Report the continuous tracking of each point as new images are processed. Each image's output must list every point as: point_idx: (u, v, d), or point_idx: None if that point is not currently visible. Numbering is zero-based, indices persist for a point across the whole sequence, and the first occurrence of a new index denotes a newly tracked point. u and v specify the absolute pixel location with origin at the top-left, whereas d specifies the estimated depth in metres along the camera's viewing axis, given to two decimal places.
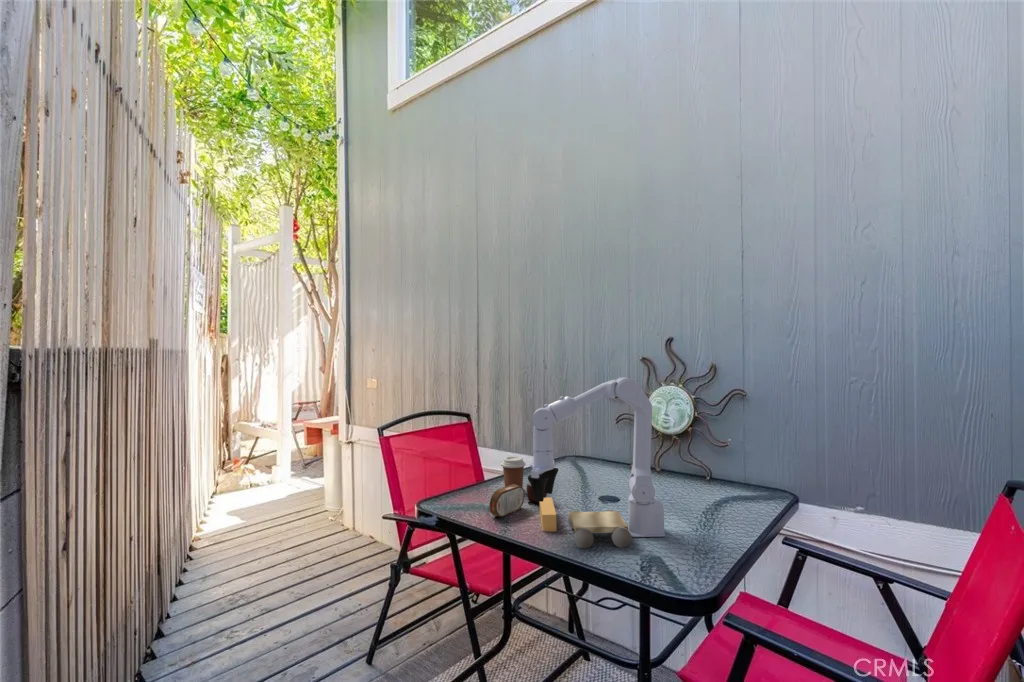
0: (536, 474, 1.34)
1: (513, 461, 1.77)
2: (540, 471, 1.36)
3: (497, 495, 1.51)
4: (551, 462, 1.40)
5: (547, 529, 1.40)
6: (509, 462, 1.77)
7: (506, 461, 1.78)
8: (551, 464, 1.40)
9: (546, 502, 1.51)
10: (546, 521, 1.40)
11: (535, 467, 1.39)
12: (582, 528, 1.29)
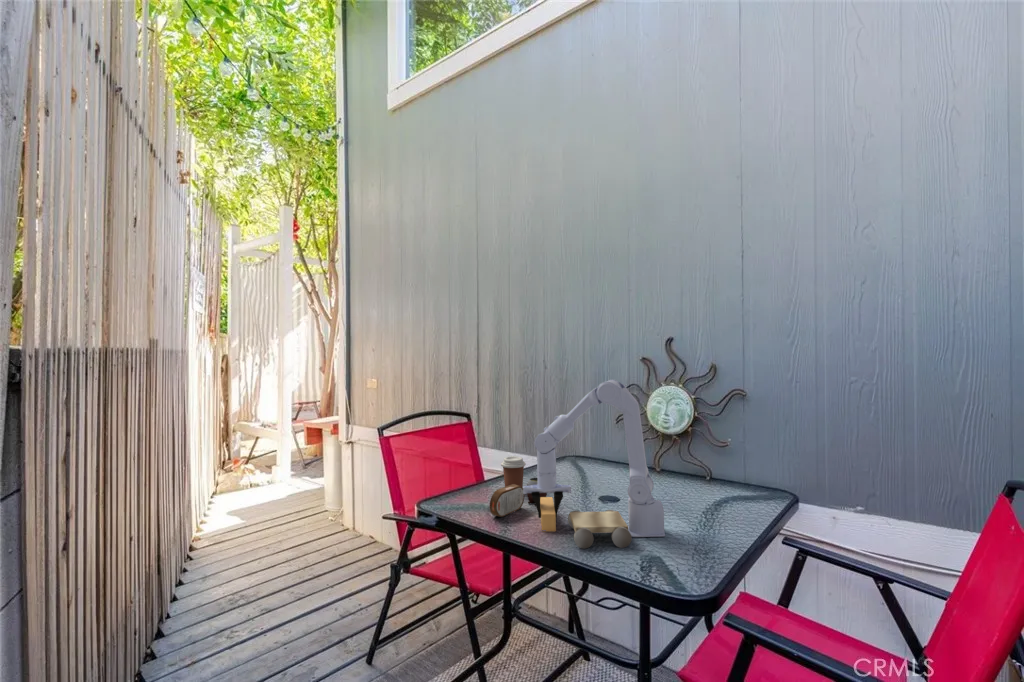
0: (523, 490, 1.48)
1: (513, 461, 1.77)
2: (528, 488, 1.47)
3: (497, 495, 1.51)
4: (545, 485, 1.46)
5: (546, 528, 1.40)
6: (509, 462, 1.77)
7: (506, 461, 1.78)
8: (545, 486, 1.46)
9: (546, 502, 1.51)
10: (545, 520, 1.40)
11: (538, 485, 1.50)
12: (582, 528, 1.29)
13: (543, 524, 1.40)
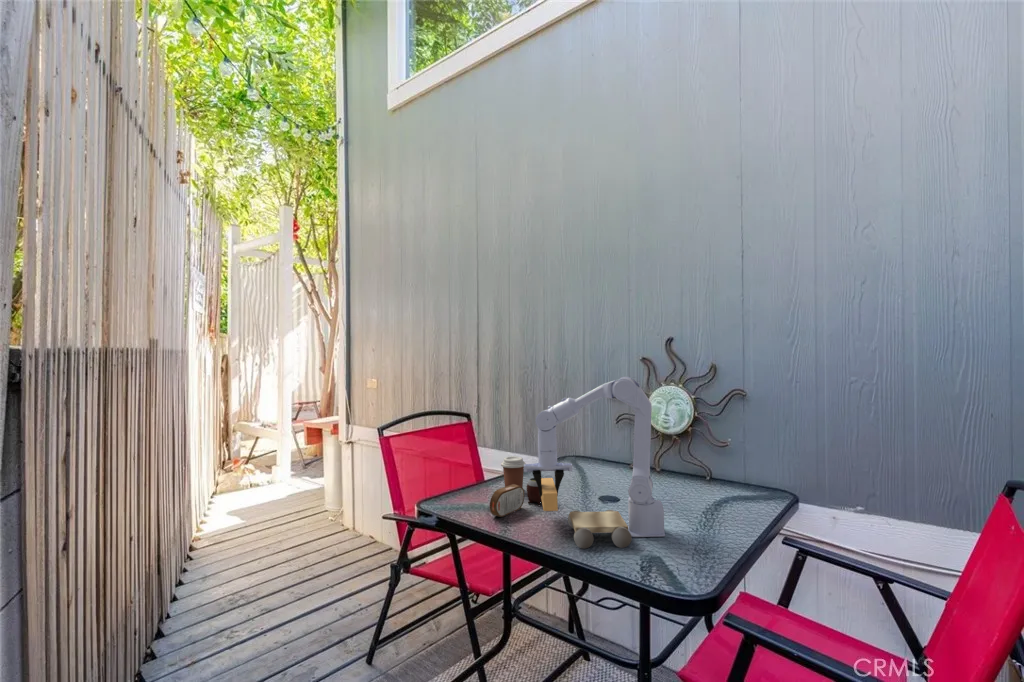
0: (524, 468, 1.46)
1: (513, 461, 1.77)
2: (529, 467, 1.46)
3: (497, 495, 1.51)
4: (546, 462, 1.44)
5: (548, 508, 1.39)
6: (509, 462, 1.77)
7: (506, 461, 1.78)
8: (546, 464, 1.44)
9: (547, 482, 1.50)
10: (547, 500, 1.39)
11: None
12: (582, 528, 1.29)
13: (545, 503, 1.39)
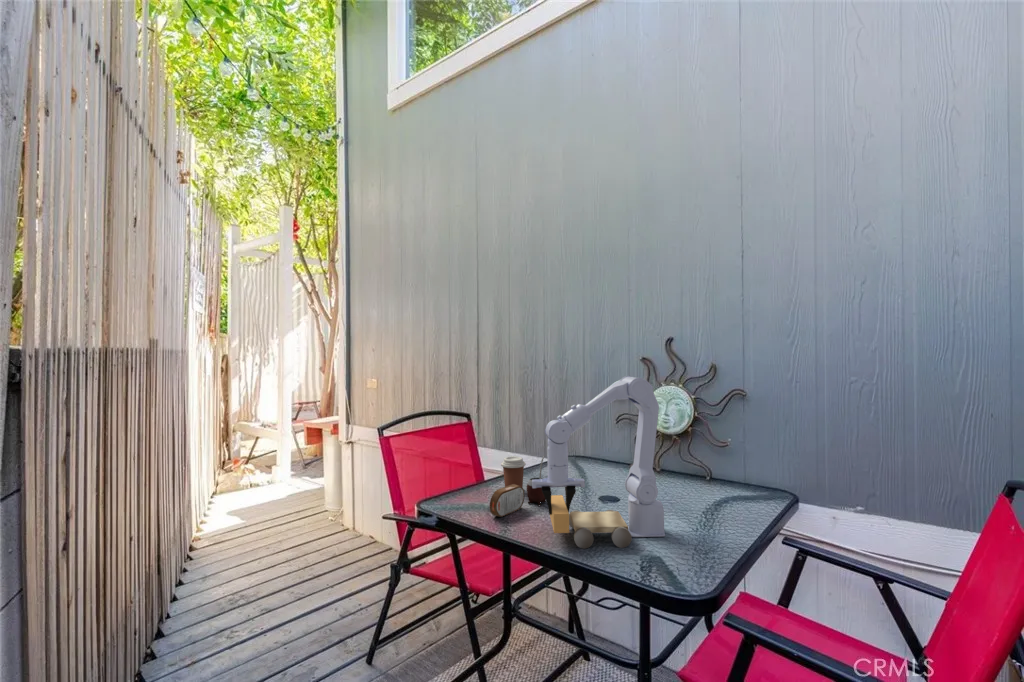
0: (532, 484, 1.35)
1: (513, 461, 1.77)
2: (537, 482, 1.34)
3: (497, 495, 1.51)
4: (556, 478, 1.33)
5: (559, 530, 1.28)
6: (509, 462, 1.77)
7: (506, 461, 1.78)
8: (556, 480, 1.33)
9: (557, 500, 1.39)
10: (558, 521, 1.28)
11: (548, 479, 1.37)
12: (582, 528, 1.29)
13: (555, 525, 1.28)
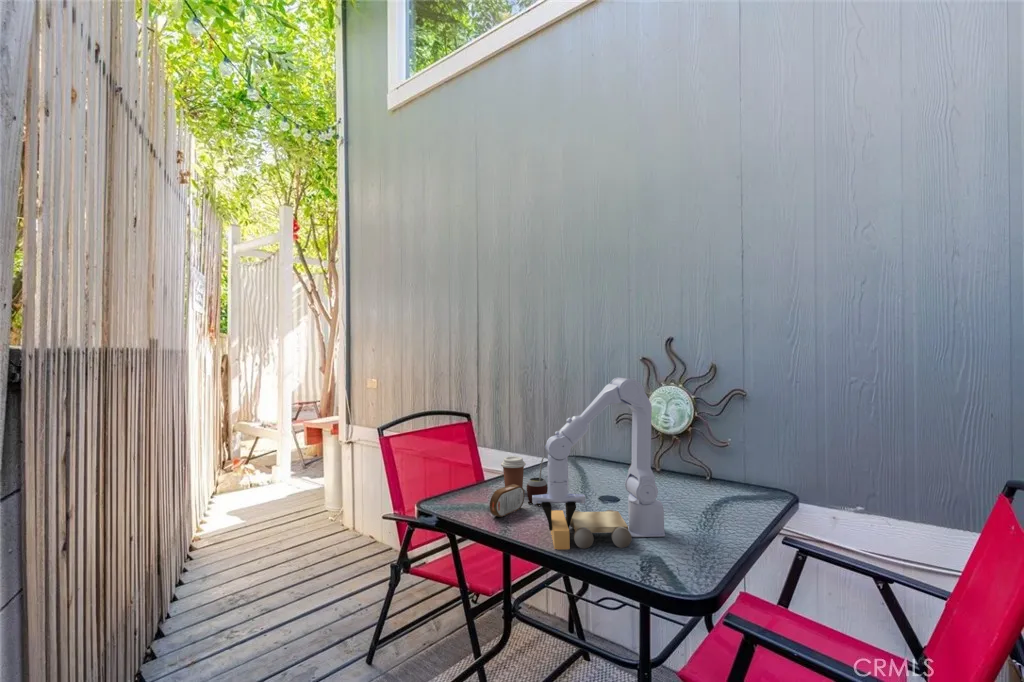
0: (532, 500, 1.35)
1: (513, 461, 1.77)
2: (538, 498, 1.34)
3: (497, 495, 1.51)
4: (556, 494, 1.33)
5: (559, 547, 1.28)
6: (509, 462, 1.77)
7: (506, 461, 1.78)
8: (556, 496, 1.33)
9: (557, 516, 1.38)
10: (558, 538, 1.28)
11: None
12: (582, 528, 1.29)
13: (556, 542, 1.28)
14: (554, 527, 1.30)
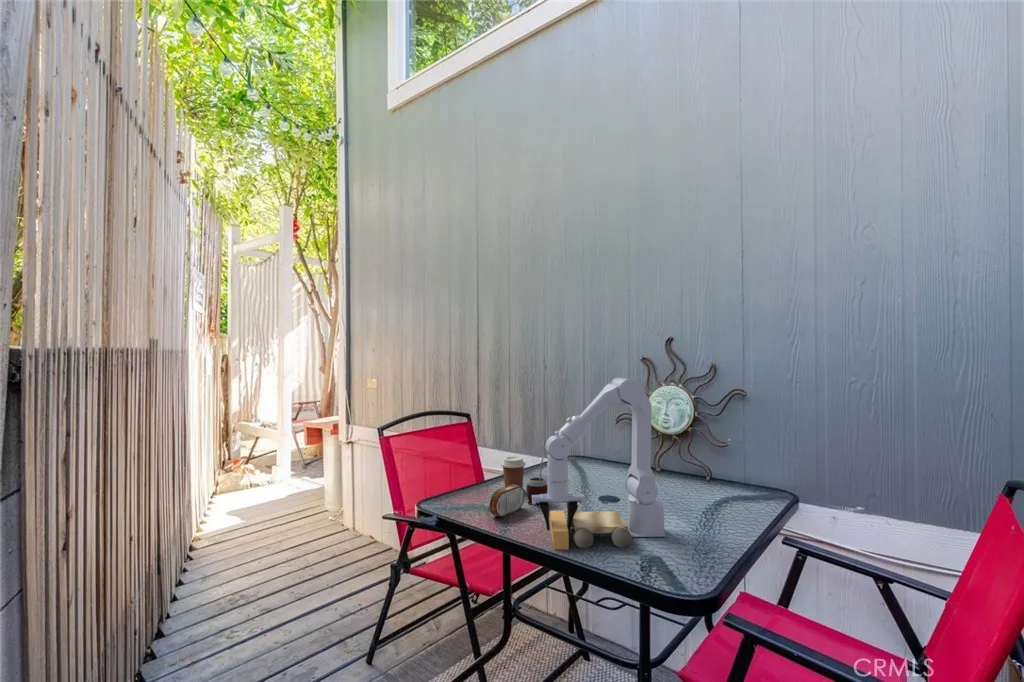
0: (532, 499, 1.35)
1: (513, 461, 1.77)
2: (537, 498, 1.34)
3: (497, 495, 1.51)
4: (556, 494, 1.33)
5: (558, 547, 1.28)
6: (509, 462, 1.77)
7: (506, 461, 1.78)
8: (556, 496, 1.33)
9: (558, 516, 1.38)
10: (557, 538, 1.28)
11: (548, 494, 1.37)
12: (582, 528, 1.29)
13: (555, 542, 1.28)
14: (553, 527, 1.30)
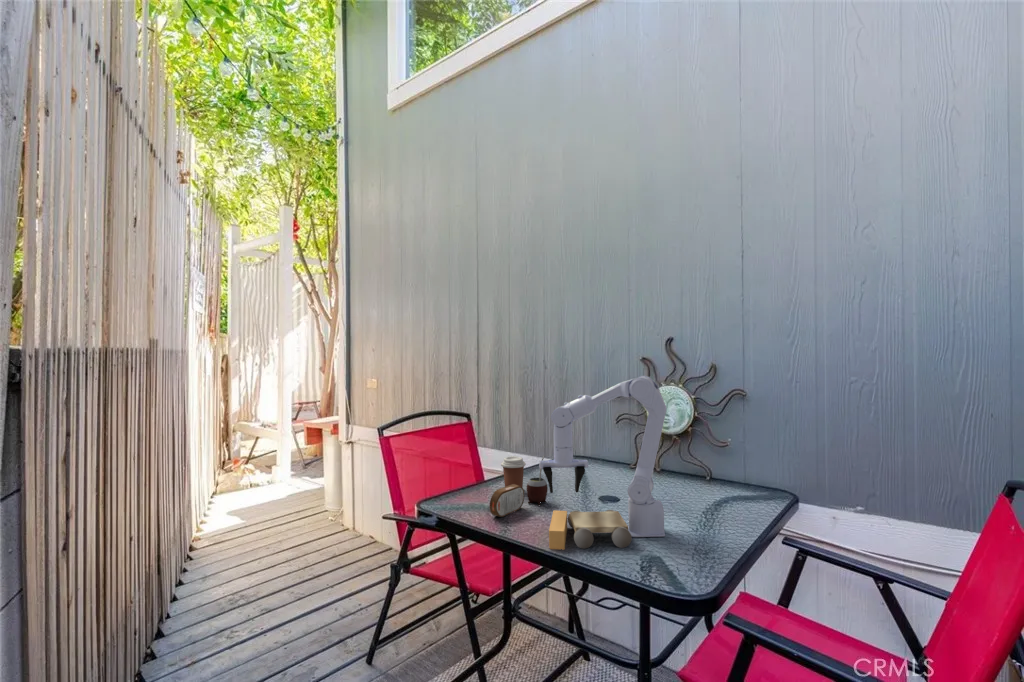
0: (539, 464, 1.46)
1: (513, 461, 1.77)
2: (544, 463, 1.45)
3: (497, 495, 1.51)
4: (562, 459, 1.44)
5: (554, 547, 1.28)
6: (509, 462, 1.77)
7: (506, 461, 1.78)
8: (562, 461, 1.44)
9: (559, 516, 1.38)
10: (553, 538, 1.28)
11: (554, 460, 1.48)
12: (582, 528, 1.29)
13: (550, 541, 1.28)
14: (550, 527, 1.31)
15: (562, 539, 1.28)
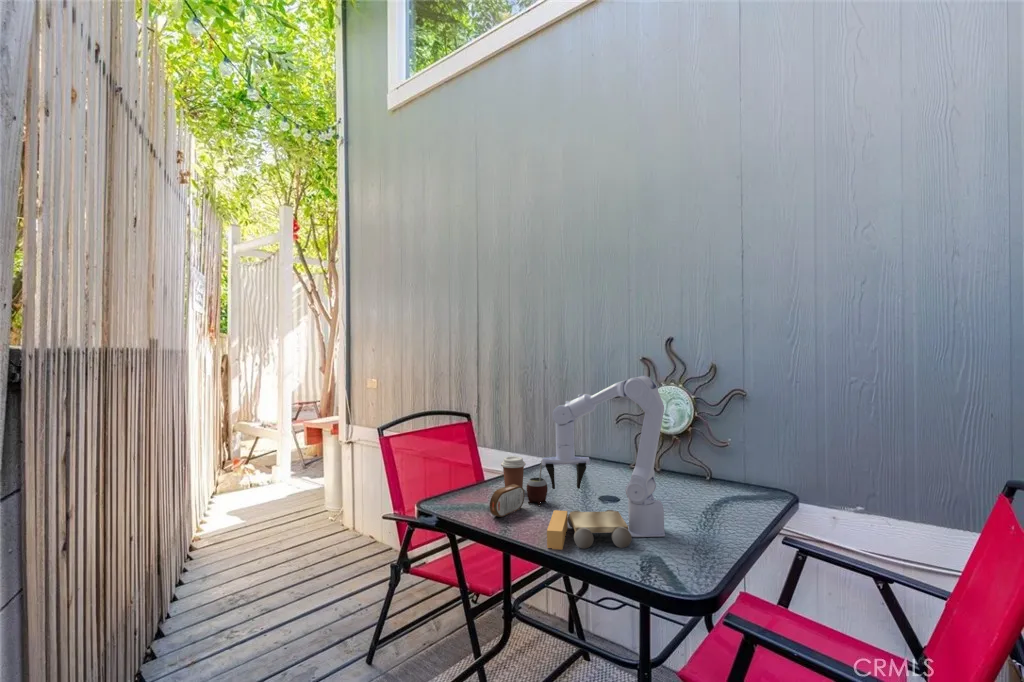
0: (542, 461, 1.50)
1: (513, 461, 1.77)
2: (547, 460, 1.49)
3: (497, 495, 1.51)
4: (564, 456, 1.48)
5: (552, 546, 1.28)
6: (509, 462, 1.77)
7: (506, 461, 1.78)
8: (564, 458, 1.48)
9: (558, 516, 1.38)
10: (551, 538, 1.28)
11: (556, 457, 1.52)
12: (582, 528, 1.29)
13: (548, 541, 1.28)
14: (549, 527, 1.31)
15: (560, 539, 1.28)
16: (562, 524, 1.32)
